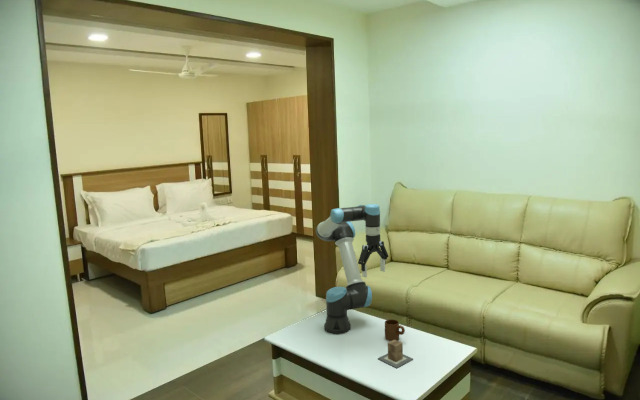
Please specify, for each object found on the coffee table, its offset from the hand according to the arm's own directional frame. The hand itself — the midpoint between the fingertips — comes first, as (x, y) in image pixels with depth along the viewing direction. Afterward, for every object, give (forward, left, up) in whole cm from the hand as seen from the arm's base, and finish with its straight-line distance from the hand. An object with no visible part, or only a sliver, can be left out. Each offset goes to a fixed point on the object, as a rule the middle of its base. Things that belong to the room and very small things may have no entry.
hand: (373, 274), depth 231 cm
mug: (+7, +8, -37) cm, 38 cm away
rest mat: (+21, -8, -37) cm, 43 cm away
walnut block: (+21, -8, -36) cm, 43 cm away
